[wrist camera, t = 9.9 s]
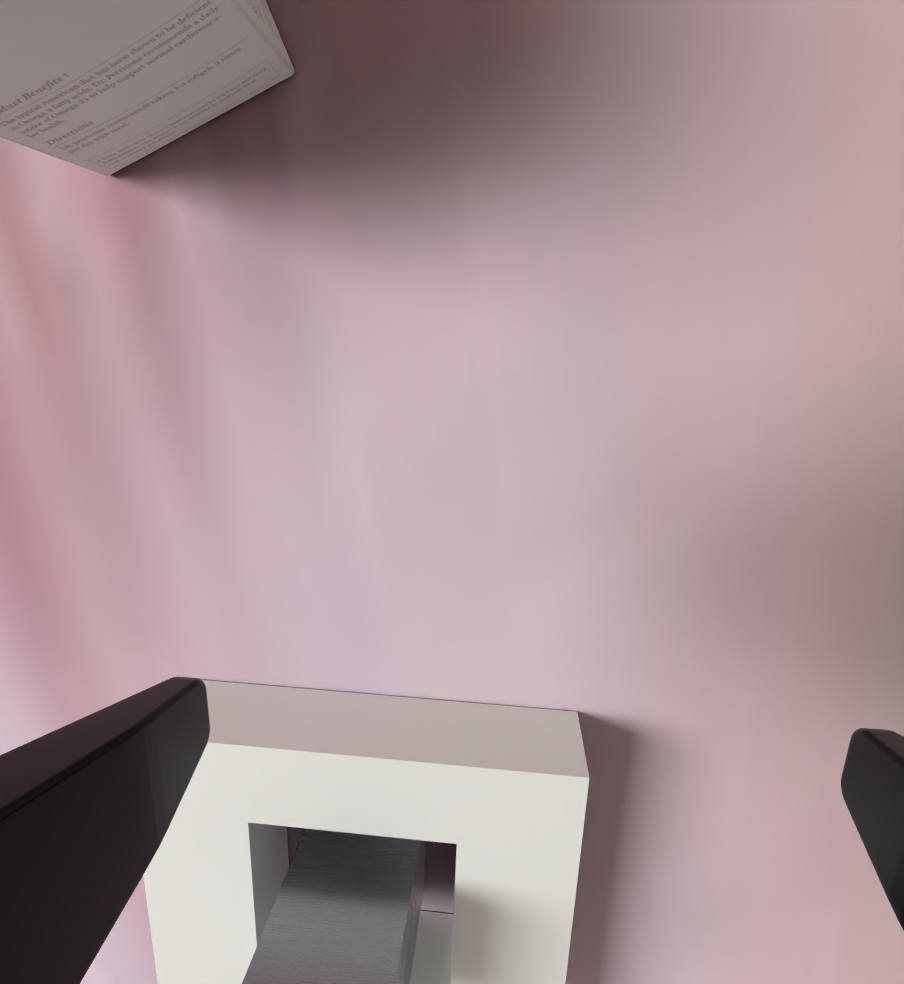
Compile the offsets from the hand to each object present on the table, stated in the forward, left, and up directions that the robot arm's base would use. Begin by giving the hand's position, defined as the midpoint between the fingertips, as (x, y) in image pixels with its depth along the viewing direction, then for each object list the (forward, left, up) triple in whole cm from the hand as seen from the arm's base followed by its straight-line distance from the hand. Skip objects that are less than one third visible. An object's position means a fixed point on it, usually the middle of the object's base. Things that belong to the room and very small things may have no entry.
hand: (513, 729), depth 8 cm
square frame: (+5, +16, -13) cm, 21 cm away
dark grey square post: (+5, +16, -13) cm, 21 cm away
